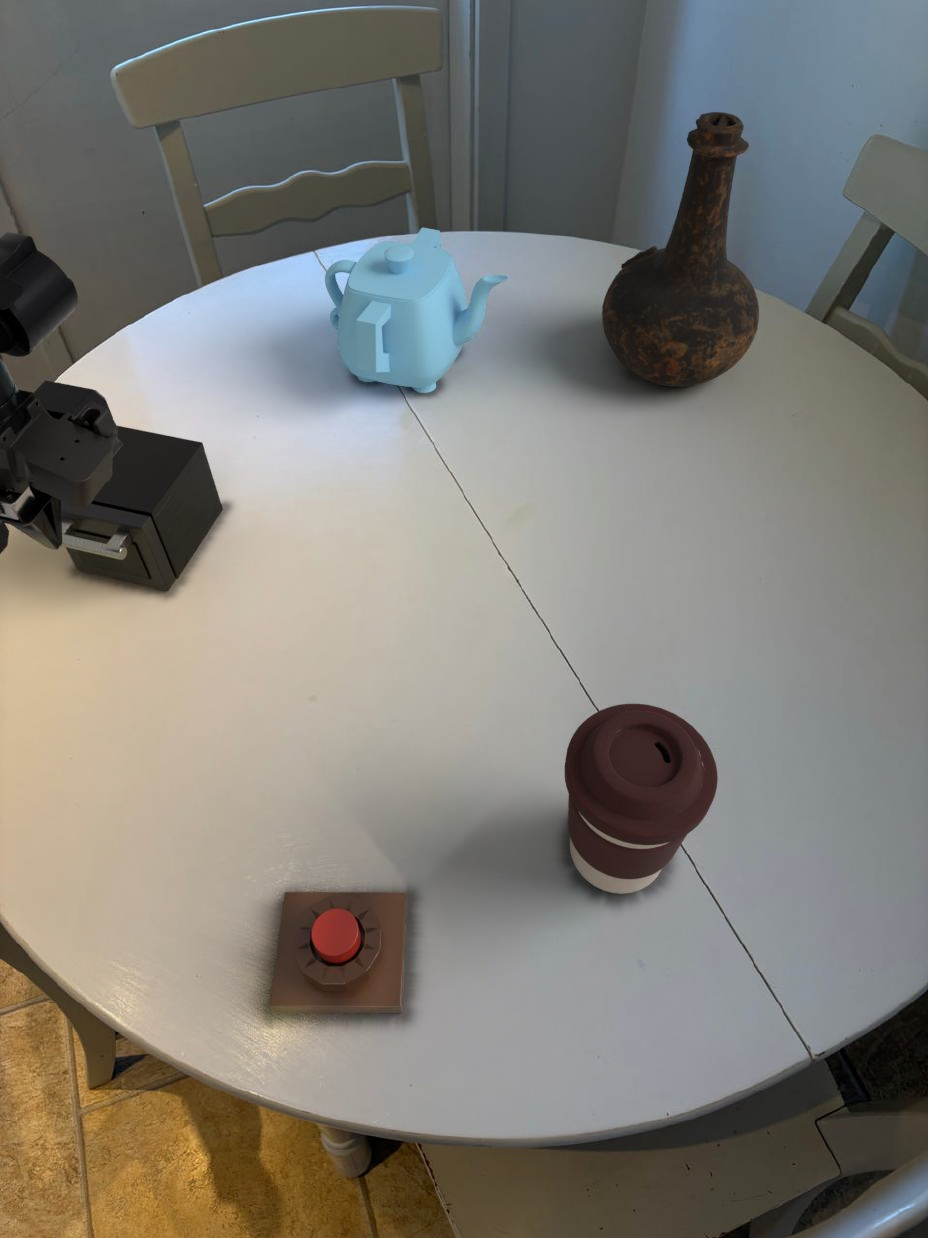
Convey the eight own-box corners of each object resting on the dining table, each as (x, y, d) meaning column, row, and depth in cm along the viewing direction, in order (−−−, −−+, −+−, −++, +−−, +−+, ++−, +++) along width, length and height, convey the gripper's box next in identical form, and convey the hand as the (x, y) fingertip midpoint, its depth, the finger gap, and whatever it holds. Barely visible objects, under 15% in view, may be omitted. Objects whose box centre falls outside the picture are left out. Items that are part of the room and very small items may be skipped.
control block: (273, 1013, 62) (263, 998, 59) (288, 900, 67) (280, 882, 64) (402, 1013, 62) (399, 999, 59) (407, 900, 67) (404, 882, 64)
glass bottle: (666, 303, 115) (711, 64, 93) (775, 368, 107) (854, 121, 85) (565, 356, 108) (588, 111, 86) (673, 430, 100) (730, 178, 78)
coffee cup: (541, 896, 67) (555, 805, 55) (563, 781, 73) (580, 677, 61) (674, 927, 65) (718, 840, 53) (686, 807, 71) (727, 705, 59)
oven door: (155, 612, 84) (126, 549, 77) (62, 589, 86) (26, 526, 79) (176, 579, 86) (150, 516, 80) (85, 558, 88) (53, 494, 81)
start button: (312, 963, 61) (308, 955, 59) (317, 917, 63) (313, 908, 61) (359, 964, 61) (356, 955, 59) (362, 917, 63) (360, 908, 61)
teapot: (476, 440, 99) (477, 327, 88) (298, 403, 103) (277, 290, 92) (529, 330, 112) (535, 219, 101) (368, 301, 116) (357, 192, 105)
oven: (177, 578, 87) (151, 513, 80) (87, 558, 88) (54, 491, 81) (223, 509, 93) (202, 442, 86) (137, 490, 94) (110, 423, 87)
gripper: (-8, 506, 55) (80, 653, 68) (140, 337, 67) (192, 489, 79) (-156, 473, 57) (-45, 622, 70) (11, 314, 69) (82, 466, 81)
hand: (55, 546), depth 75 cm, fingers closed
